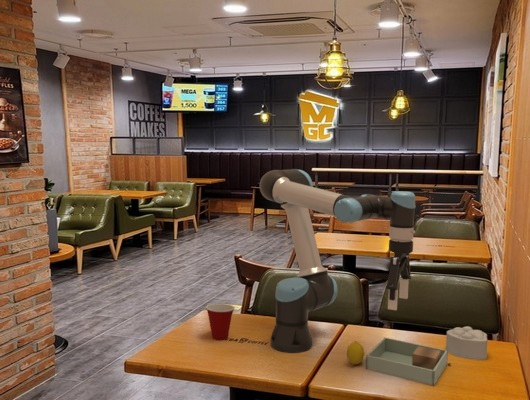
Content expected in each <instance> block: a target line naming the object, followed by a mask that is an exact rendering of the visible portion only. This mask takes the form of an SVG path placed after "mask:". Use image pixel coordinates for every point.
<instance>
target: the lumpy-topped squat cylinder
mask: <svg viewBox="0 0 530 400" xmlns="http://www.w3.org/2000/svg"><path fill="white" fill-rule="evenodd" d="M445 336H446V337H445V338H446V340H445V341H446V342H445V350H448V354H451V355H453V356H455V357H459V358H462V359H468V360H476V361H477V360H478V361H483V360H487V359H488V358H487V357H488V356H487V355H488V334H487V333H485V332H484V331H482V330H480V329H473V327H471V326H469V325H468V326H463V327H459V326H458V327H454V328H453V329H449V330H446V335H445Z"/></svg>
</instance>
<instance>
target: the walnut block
mask: <svg viewBox="0 0 530 400" xmlns="http://www.w3.org/2000/svg"><path fill="white" fill-rule="evenodd" d="M440 356H441V351H439V350H434V349H429V348H424V347H420V346H418V347H417V349H416V350H415V351H414V352H413V354H412V365H413V366H417V367H421V368H426V369H430V370H433V369H434V368H435V366H436V365H437V363H438V362H439V360H440Z"/></svg>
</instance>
